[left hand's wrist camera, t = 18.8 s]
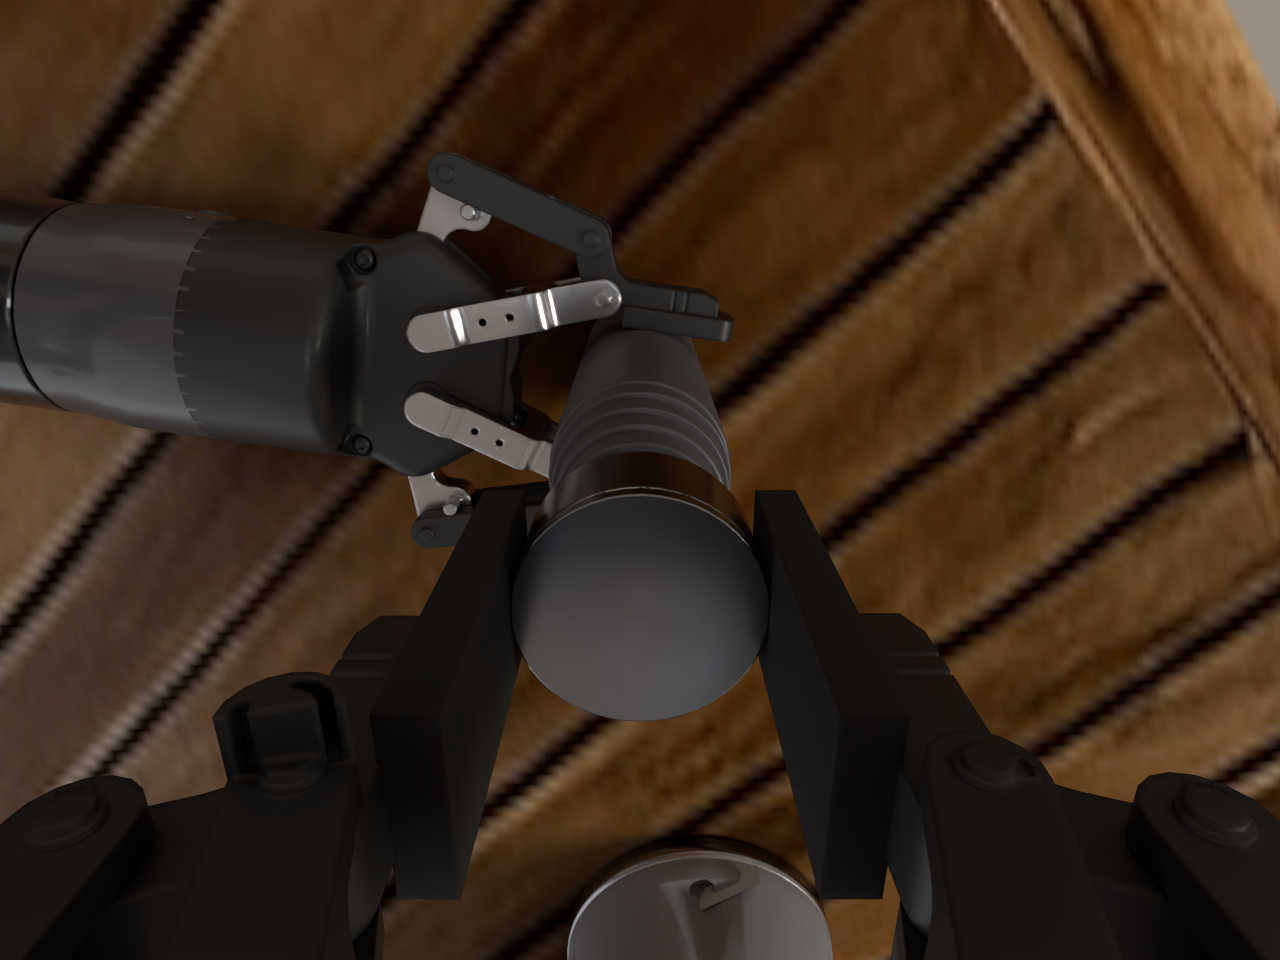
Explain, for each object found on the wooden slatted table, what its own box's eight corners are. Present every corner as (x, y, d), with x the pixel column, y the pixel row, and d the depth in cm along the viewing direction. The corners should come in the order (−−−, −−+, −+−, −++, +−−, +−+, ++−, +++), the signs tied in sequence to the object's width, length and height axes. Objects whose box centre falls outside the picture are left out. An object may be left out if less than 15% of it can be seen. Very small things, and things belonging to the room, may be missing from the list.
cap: (505, 623, 15) (485, 690, 13) (557, 422, 14) (542, 463, 12) (712, 673, 16) (723, 745, 14) (784, 484, 14) (808, 534, 12)
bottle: (714, 359, 33) (824, 613, 13) (632, 423, 34) (623, 747, 14) (647, 275, 32) (660, 418, 12) (565, 345, 33) (452, 581, 13)
